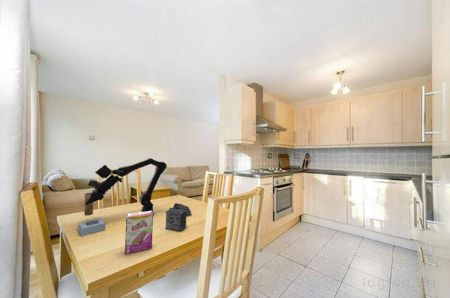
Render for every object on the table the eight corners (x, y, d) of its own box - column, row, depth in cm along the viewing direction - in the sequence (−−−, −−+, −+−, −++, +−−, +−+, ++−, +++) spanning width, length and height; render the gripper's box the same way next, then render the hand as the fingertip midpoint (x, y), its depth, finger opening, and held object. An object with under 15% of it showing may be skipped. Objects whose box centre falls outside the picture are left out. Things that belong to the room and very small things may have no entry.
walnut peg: (94, 213, 105) (95, 192, 105) (89, 215, 101) (89, 194, 101) (88, 213, 105) (88, 192, 105) (82, 215, 101) (83, 194, 101)
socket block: (100, 224, 105) (100, 218, 105) (105, 230, 98) (105, 222, 98) (78, 230, 98) (78, 223, 98) (81, 236, 91) (82, 228, 91)
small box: (186, 227, 103) (187, 210, 104) (180, 232, 97) (181, 213, 97) (171, 224, 107) (172, 207, 107) (165, 229, 101) (165, 211, 101)
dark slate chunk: (170, 219, 116) (171, 212, 116) (168, 209, 137) (168, 203, 137) (193, 216, 122) (193, 209, 122) (188, 207, 143) (188, 201, 143)
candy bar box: (124, 255, 75) (125, 217, 75) (125, 249, 79) (126, 213, 80) (152, 248, 80) (153, 213, 81) (151, 243, 85) (152, 210, 85)
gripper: (98, 173, 114) (76, 192, 107) (96, 176, 98) (70, 199, 92) (112, 184, 118) (91, 202, 111) (113, 189, 102) (89, 211, 96)
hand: (86, 203), depth 103 cm, fingers closed on walnut peg, 4 cm apart
